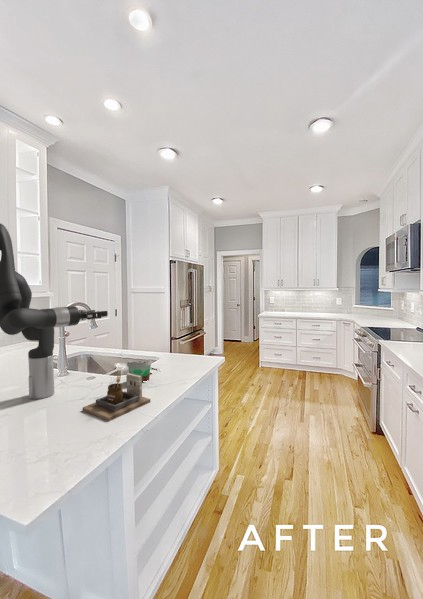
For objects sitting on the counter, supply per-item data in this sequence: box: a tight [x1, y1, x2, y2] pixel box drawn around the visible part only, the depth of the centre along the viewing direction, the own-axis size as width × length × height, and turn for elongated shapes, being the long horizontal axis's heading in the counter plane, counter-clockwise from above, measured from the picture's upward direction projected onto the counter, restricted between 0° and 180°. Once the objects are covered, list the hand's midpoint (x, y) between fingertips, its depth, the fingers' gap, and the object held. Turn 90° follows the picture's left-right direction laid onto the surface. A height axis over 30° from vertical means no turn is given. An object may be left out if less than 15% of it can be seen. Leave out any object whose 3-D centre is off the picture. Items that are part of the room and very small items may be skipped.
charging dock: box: [82, 372, 151, 422], centre depth 116 cm, size 20×16×10 cm
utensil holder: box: [106, 374, 124, 405], centre depth 117 cm, size 6×6×12 cm
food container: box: [126, 359, 153, 383], centre depth 145 cm, size 12×6×10 cm, turn 105°
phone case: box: [150, 366, 162, 374], centre depth 164 cm, size 7×1×15 cm
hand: (100, 312), depth 125 cm, fingers open, 8 cm apart
